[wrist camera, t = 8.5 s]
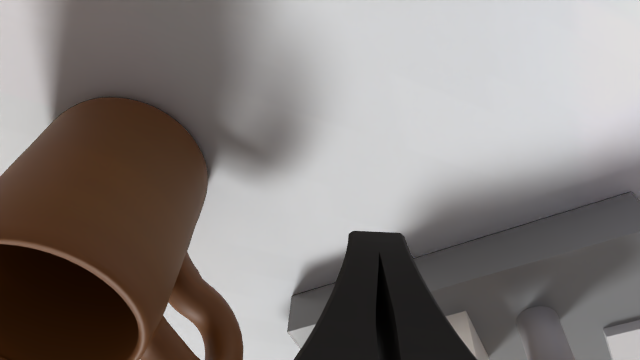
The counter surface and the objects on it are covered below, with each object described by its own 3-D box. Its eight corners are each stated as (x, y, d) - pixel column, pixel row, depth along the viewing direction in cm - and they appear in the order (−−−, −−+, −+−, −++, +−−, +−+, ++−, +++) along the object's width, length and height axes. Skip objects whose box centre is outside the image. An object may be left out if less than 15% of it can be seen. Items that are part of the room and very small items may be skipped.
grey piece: (632, 191, 25) (700, 287, 20) (658, 322, 30) (718, 424, 25) (291, 296, 30) (279, 392, 25) (362, 392, 35) (364, 488, 30)
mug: (310, 220, 27) (294, 388, 19) (215, 289, 30) (168, 456, 23) (108, 55, 22) (-19, 189, 15) (21, 158, 26) (-120, 311, 18)
